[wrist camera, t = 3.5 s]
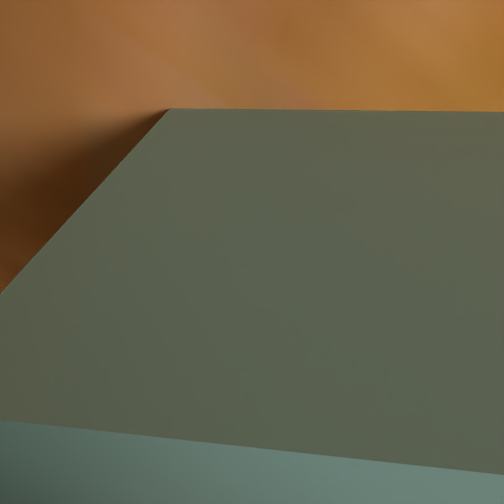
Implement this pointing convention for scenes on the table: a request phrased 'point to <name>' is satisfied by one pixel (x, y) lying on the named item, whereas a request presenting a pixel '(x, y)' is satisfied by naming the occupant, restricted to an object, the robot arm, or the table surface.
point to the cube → (268, 318)
